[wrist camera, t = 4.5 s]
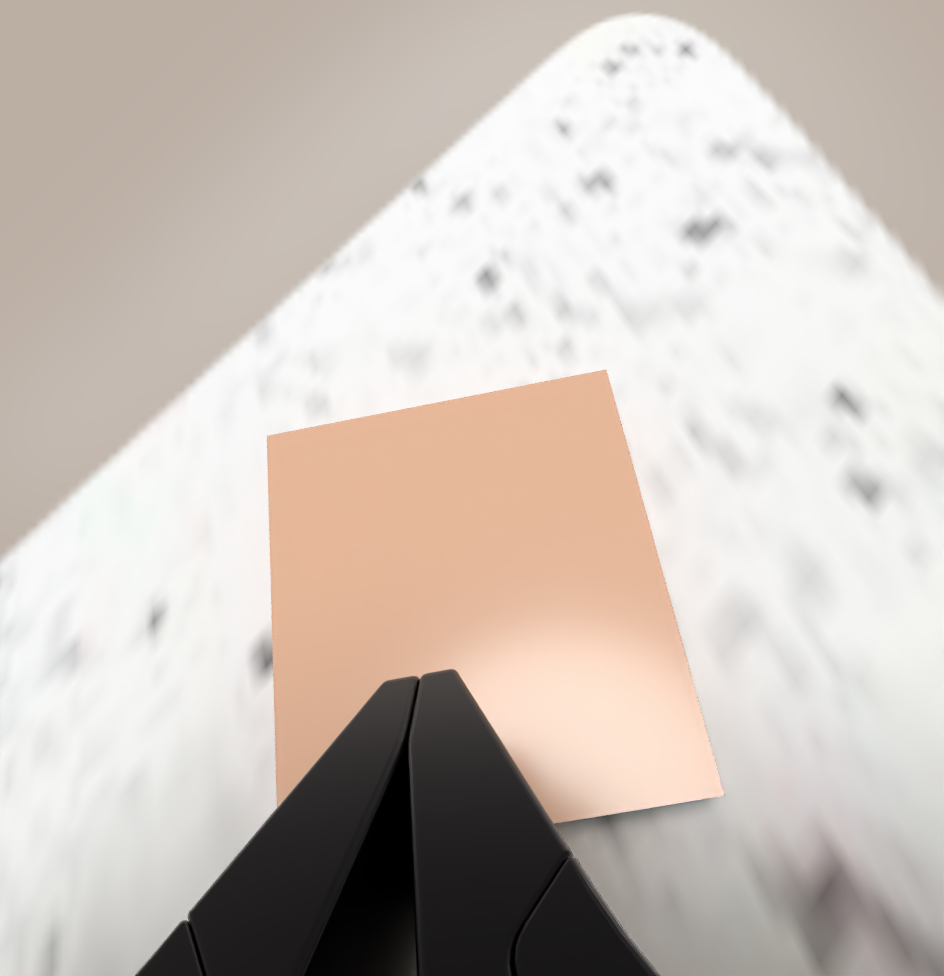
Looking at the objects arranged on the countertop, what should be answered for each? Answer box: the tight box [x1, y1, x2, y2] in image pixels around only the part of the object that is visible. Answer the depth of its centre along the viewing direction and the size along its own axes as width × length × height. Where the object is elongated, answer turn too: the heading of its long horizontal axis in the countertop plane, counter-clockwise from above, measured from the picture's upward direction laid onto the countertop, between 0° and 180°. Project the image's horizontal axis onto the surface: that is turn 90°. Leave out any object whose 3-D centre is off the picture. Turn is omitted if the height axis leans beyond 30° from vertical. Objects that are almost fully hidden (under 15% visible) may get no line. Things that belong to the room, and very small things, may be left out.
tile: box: [267, 370, 725, 824], centre depth 15 cm, size 2×8×9 cm
